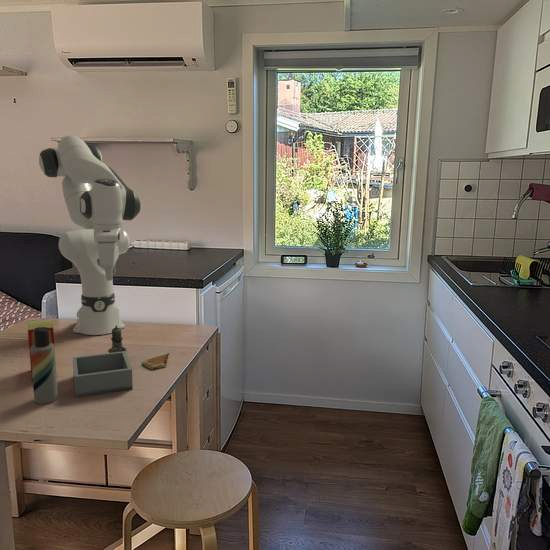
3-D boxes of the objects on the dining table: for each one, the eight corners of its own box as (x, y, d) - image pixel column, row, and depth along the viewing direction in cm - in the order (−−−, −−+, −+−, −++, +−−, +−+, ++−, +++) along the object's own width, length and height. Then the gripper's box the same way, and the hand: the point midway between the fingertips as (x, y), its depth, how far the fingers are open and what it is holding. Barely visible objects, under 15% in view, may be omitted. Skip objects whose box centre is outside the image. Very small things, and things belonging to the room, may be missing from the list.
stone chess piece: (106, 358, 159) (105, 323, 157) (125, 355, 162) (124, 321, 159) (109, 364, 154) (108, 328, 151) (128, 362, 157) (127, 326, 154)
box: (73, 376, 145) (72, 357, 144) (125, 369, 151) (125, 351, 150) (75, 397, 131) (74, 376, 130) (132, 389, 137) (132, 369, 136)
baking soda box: (32, 369, 149) (28, 319, 145) (55, 366, 151) (52, 317, 148) (31, 381, 140) (27, 329, 137) (56, 378, 143) (53, 326, 140)
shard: (169, 357, 163) (169, 352, 163) (183, 363, 158) (183, 358, 158) (141, 365, 155) (140, 360, 155) (154, 372, 150) (154, 367, 150)
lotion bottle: (39, 394, 132) (34, 324, 128) (61, 394, 133) (56, 324, 129) (30, 404, 127) (24, 331, 123) (53, 404, 127) (48, 331, 123)
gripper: (102, 229, 159) (104, 271, 161) (93, 236, 139) (96, 284, 142) (122, 229, 160) (124, 270, 163) (116, 236, 140) (118, 283, 143)
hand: (111, 277), depth 152 cm, fingers open, 8 cm apart
